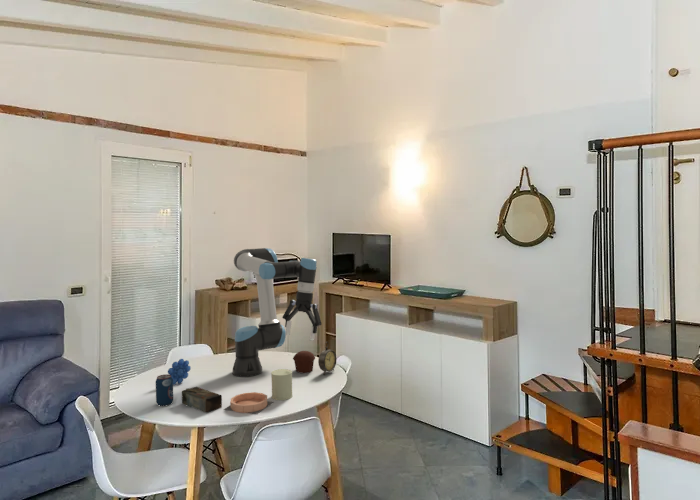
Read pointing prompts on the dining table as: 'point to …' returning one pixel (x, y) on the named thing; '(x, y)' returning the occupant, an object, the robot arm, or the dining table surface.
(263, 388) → the dining table surface
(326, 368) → the alarm clock
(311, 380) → the dining table surface
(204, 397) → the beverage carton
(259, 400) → the bowl
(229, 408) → the mat
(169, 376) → the soda can
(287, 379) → the can
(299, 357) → the muffin
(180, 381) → the grapes
